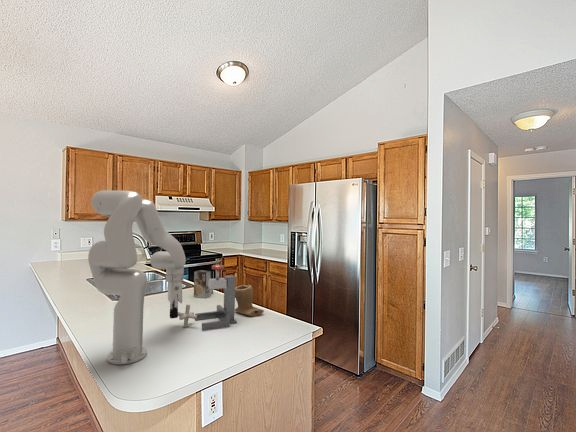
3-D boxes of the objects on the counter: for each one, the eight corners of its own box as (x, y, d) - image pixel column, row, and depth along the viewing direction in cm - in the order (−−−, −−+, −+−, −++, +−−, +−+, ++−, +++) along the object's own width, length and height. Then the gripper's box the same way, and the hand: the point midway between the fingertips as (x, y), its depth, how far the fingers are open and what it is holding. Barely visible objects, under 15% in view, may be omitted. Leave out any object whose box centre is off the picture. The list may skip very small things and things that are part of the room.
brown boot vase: (228, 312, 165) (229, 284, 165) (245, 308, 174) (246, 281, 174) (247, 320, 154) (248, 290, 154) (264, 314, 163) (265, 286, 163)
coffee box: (211, 296, 197) (212, 271, 197) (205, 298, 191) (206, 272, 191) (198, 294, 200) (199, 269, 200) (193, 296, 194) (193, 271, 194)
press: (239, 325, 146) (240, 279, 146) (202, 330, 138) (204, 281, 138) (228, 315, 161) (229, 273, 161) (194, 319, 152) (195, 275, 152)
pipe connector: (189, 331, 136) (192, 308, 137) (169, 327, 138) (172, 305, 139) (200, 325, 146) (203, 304, 147) (181, 322, 148) (184, 301, 149)
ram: (226, 293, 149) (227, 266, 149) (211, 295, 145) (211, 267, 145) (222, 290, 154) (223, 264, 154) (207, 292, 150) (208, 265, 150)
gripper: (186, 279, 135) (185, 321, 135) (180, 273, 148) (179, 311, 148) (168, 281, 132) (167, 324, 132) (163, 274, 145) (162, 313, 145)
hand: (173, 317), depth 140 cm, fingers closed
